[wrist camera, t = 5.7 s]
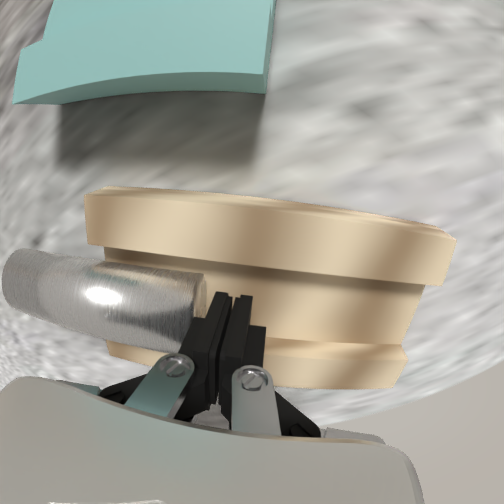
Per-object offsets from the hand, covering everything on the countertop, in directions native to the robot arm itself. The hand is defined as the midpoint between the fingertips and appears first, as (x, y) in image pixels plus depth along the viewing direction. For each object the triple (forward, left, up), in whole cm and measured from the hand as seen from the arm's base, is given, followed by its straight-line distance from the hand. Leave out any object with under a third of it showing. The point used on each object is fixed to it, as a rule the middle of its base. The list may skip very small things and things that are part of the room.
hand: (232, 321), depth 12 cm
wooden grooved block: (-1, 0, -3) cm, 3 cm away
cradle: (+6, -16, -3) cm, 17 cm away
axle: (+8, 0, -2) cm, 8 cm away
